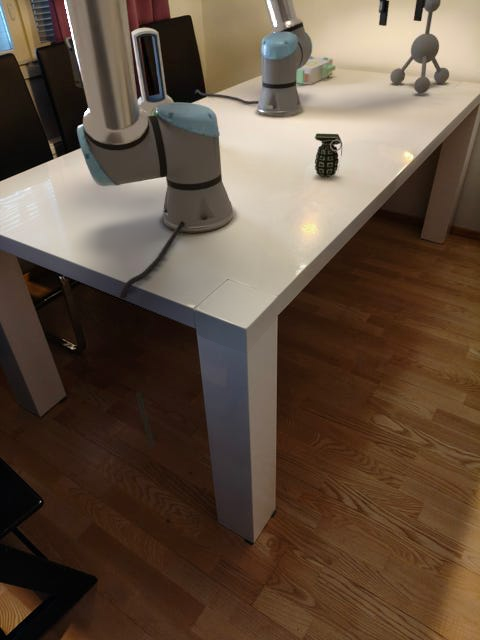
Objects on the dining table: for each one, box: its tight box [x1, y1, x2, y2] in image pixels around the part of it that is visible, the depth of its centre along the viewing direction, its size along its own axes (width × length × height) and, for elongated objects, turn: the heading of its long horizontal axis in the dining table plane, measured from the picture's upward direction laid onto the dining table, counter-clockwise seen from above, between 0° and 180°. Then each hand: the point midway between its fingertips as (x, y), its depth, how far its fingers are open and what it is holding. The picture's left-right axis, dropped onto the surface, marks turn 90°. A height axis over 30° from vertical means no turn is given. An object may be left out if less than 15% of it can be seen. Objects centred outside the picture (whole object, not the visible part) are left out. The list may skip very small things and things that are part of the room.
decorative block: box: [296, 55, 336, 85], centre depth 206 cm, size 26×6×20 cm
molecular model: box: [390, 0, 450, 94], centre depth 178 cm, size 24×22×30 cm
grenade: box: [314, 133, 343, 179], centre depth 119 cm, size 7×6×10 cm
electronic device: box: [130, 27, 174, 116], centre depth 141 cm, size 12×8×30 cm, turn 105°
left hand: (109, 114), depth 118 cm, fingers closed on canister, 5 cm apart
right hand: (400, 23), depth 153 cm, fingers open, 13 cm apart
